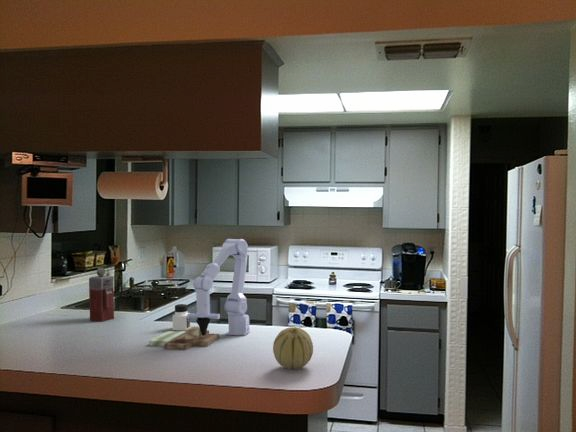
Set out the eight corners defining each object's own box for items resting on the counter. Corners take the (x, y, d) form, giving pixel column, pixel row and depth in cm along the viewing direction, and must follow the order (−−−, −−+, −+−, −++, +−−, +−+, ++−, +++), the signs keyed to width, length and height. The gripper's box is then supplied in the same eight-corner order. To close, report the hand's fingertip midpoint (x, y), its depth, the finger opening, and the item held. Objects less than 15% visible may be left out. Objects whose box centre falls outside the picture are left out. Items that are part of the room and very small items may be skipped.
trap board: (223, 335, 240) (223, 330, 240) (202, 350, 214) (202, 345, 214) (171, 333, 245) (170, 329, 245) (144, 348, 219) (144, 343, 219)
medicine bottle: (187, 330, 251) (186, 305, 251) (172, 330, 251) (172, 305, 251) (190, 327, 258) (189, 303, 258) (176, 327, 258) (175, 303, 258)
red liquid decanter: (106, 322, 275) (104, 269, 274) (89, 320, 279) (88, 268, 279) (117, 318, 283) (116, 267, 283) (101, 317, 287) (100, 266, 287)
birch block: (203, 335, 231) (202, 326, 231) (198, 338, 225) (198, 329, 225) (190, 335, 232) (190, 326, 232) (185, 338, 226) (185, 329, 226)
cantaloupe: (297, 359, 197) (296, 320, 197) (322, 368, 185) (321, 326, 185) (264, 367, 188) (264, 326, 188) (289, 377, 176) (288, 333, 176)
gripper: (184, 305, 225) (184, 336, 225) (215, 306, 222) (216, 337, 222) (190, 302, 232) (191, 332, 232) (221, 303, 229) (221, 333, 229)
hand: (203, 335), depth 228 cm, fingers closed
